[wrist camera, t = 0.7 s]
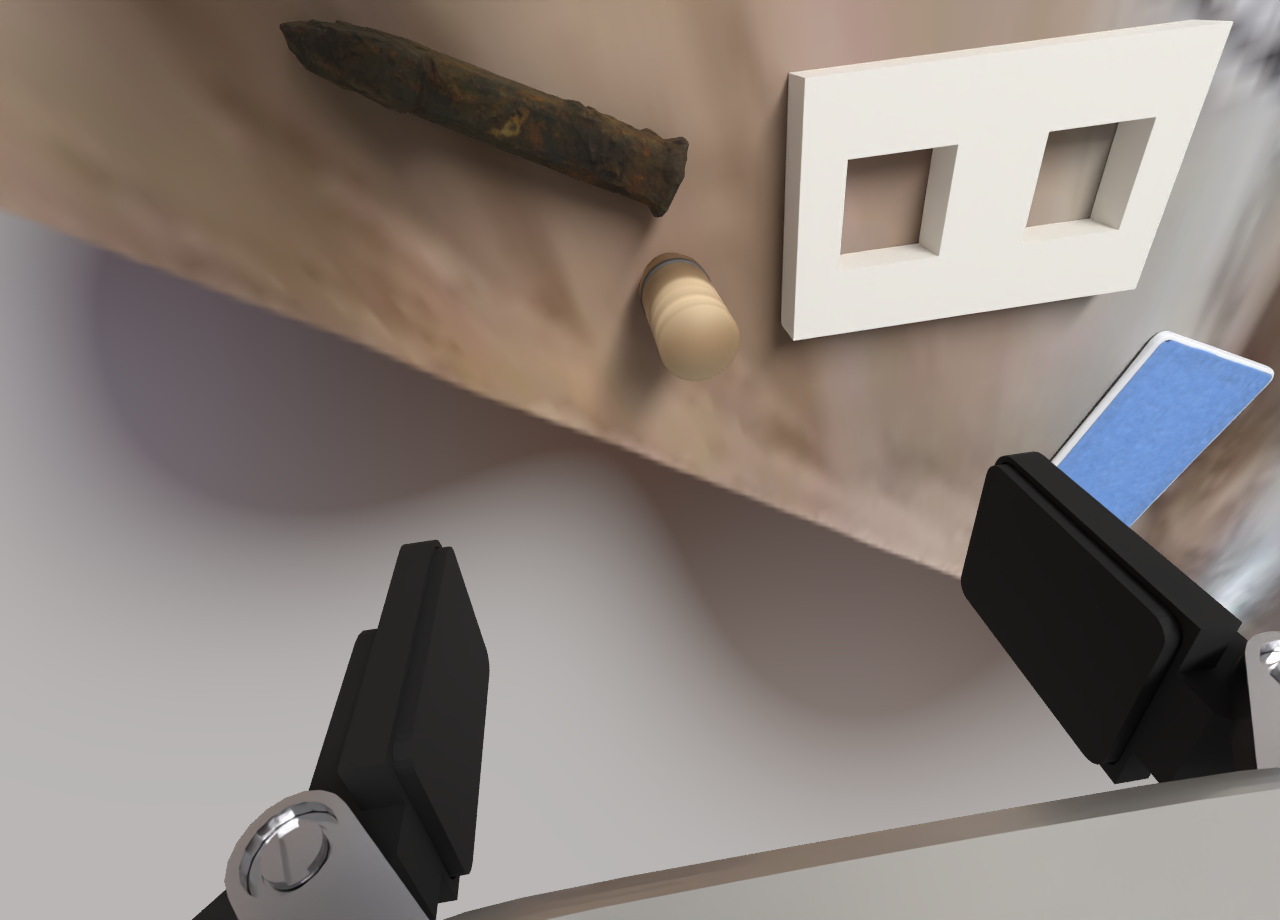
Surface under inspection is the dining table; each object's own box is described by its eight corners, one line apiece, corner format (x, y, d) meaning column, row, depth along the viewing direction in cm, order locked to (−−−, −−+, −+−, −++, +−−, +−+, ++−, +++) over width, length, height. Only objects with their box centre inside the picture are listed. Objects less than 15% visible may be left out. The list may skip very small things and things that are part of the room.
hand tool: (685, 135, 35) (703, 151, 31) (655, 208, 37) (668, 231, 33) (304, -45, 29) (270, -52, 25) (292, 53, 31) (258, 60, 27)
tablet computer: (1095, 547, 60) (1105, 557, 59) (988, 525, 56) (997, 535, 55) (1267, 364, 50) (1283, 372, 49) (1151, 323, 46) (1165, 331, 45)
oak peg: (631, 250, 38) (655, 311, 31) (700, 240, 38) (740, 298, 31) (638, 316, 40) (661, 387, 33) (703, 306, 40) (741, 375, 33)
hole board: (788, 72, 34) (805, 77, 32) (1192, 19, 35) (1233, 21, 33) (780, 323, 42) (793, 340, 40) (1107, 274, 43) (1135, 288, 41)
